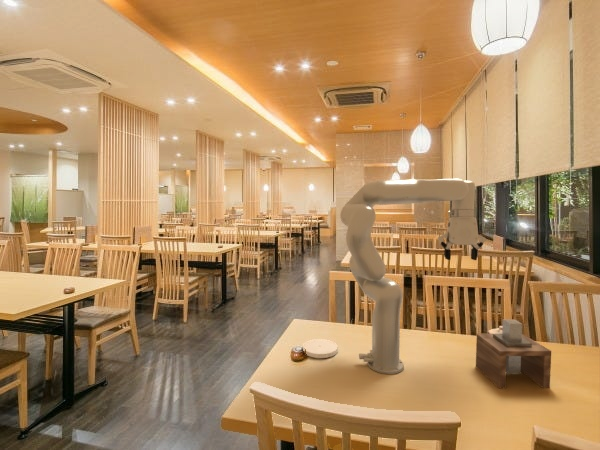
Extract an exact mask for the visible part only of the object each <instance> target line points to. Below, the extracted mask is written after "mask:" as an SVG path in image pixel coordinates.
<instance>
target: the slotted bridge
mask: <svg viewBox="0 0 600 450" xmlns="http://www.w3.org/2000/svg"><path fill="white" fill-rule="evenodd" d="M522 338H524V339H526V340H527V341H529V342H530V343H532V347H506V346H504V345H503V344H502V343H500V342H499V341H498V340H496V339H495V338H493V334H488V333H476V343H475V344H476V346H475V347H476V348H475V349H476V350H475V367H476V368H477V369H478V370H479V371H480V372H481V373H482V374H483V375H484V376H485V377H486V378H487V379H488V380H489V381H490V382H492V383H493V384H494V385H495V386H496V387H497V388H498V389H506V381H507V380H506V379H507V377H506V376H507V373H506V356H521V370H520V372H521V373H523V374H525V376H526V377H528V378H530V379H531V380H532V381H533V382H535V383H536V384H537V385H538V386H540V387H541V388H543V389H550V388H551V367H552V365H551V364H552V350H550V349H549V348H547V347H545V346H543V345H542V344H540V343H539V342H537V341H535V340H533V339H532V338H530V337H528V336H527V335H525V334H523V333H522Z"/></svg>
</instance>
